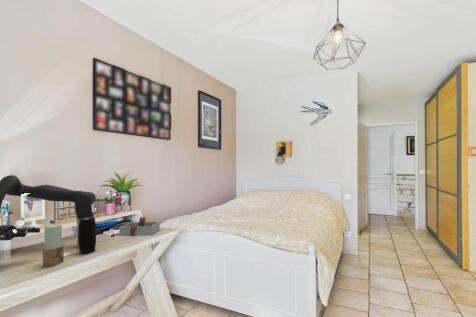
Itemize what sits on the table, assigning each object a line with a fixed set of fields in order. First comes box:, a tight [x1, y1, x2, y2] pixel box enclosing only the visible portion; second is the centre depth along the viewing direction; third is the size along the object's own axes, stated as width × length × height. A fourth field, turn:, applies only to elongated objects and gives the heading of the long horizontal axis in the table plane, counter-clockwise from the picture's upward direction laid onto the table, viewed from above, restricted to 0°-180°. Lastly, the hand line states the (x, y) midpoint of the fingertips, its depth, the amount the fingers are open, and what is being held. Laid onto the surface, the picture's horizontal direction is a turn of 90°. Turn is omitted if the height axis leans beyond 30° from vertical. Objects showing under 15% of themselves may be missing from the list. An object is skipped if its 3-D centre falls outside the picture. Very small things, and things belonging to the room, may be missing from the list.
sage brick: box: [44, 224, 63, 250], centre depth 129 cm, size 5×5×11 cm
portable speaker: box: [78, 216, 97, 255], centre depth 146 cm, size 9×9×20 cm
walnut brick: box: [42, 245, 65, 267], centre depth 128 cm, size 6×6×8 cm
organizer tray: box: [118, 221, 161, 237], centre depth 188 cm, size 16×24×6 cm, turn 88°
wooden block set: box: [130, 216, 150, 236], centre depth 187 cm, size 18×9×10 cm, turn 153°
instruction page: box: [40, 252, 72, 260], centre depth 139 cm, size 8×11×1 cm
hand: (32, 232), depth 129 cm, fingers open, 8 cm apart
